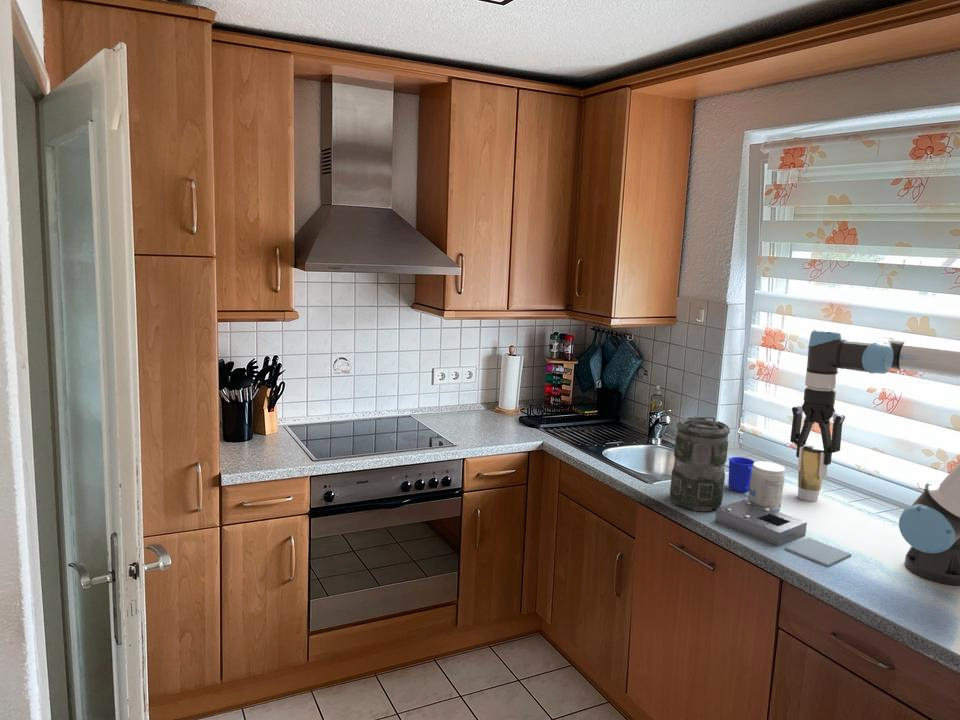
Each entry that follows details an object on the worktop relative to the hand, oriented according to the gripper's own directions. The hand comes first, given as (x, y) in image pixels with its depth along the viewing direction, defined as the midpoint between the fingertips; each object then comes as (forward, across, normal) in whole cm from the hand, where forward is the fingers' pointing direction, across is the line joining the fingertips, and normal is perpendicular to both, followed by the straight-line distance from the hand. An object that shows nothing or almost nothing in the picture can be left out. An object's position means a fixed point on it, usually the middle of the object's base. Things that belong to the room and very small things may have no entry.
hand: (811, 472), depth 193 cm
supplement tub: (+21, +21, -13) cm, 32 cm away
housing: (+21, +14, 0) cm, 25 cm away
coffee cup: (+21, +20, -37) cm, 47 cm away
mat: (+21, -4, 0) cm, 22 cm away
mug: (+20, +35, -23) cm, 47 cm away
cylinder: (+4, 0, 0) cm, 4 cm away
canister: (+20, +36, 0) cm, 42 cm away
